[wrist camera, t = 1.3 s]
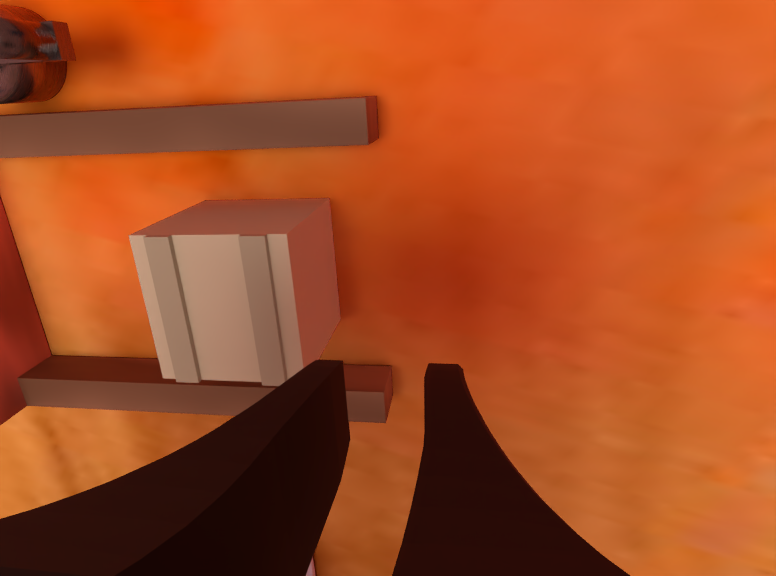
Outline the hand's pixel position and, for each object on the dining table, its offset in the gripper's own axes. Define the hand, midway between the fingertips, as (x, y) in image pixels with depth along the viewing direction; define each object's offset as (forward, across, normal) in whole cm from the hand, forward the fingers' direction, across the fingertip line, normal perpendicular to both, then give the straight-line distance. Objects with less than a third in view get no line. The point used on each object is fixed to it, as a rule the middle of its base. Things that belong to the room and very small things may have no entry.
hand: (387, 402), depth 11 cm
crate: (+10, +6, 0) cm, 11 cm away
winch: (+9, +13, -8) cm, 18 cm away
